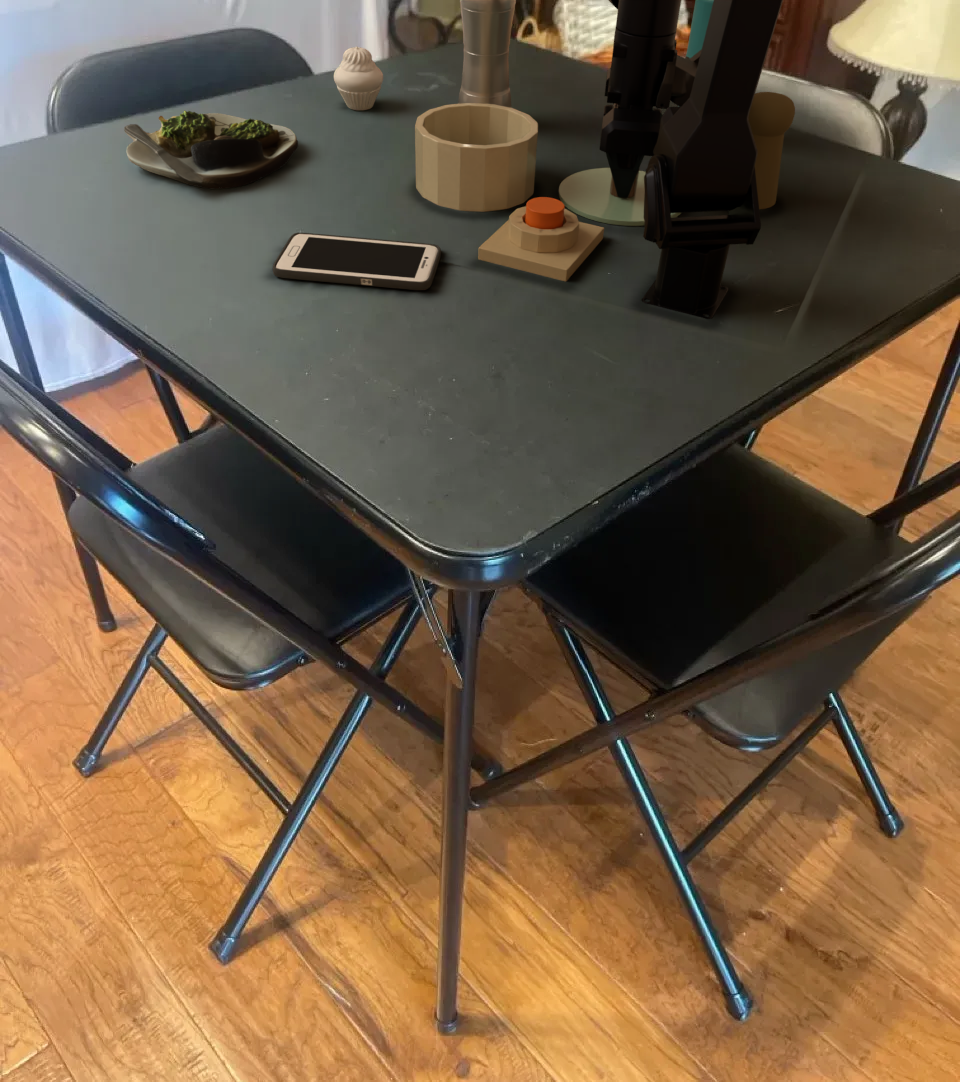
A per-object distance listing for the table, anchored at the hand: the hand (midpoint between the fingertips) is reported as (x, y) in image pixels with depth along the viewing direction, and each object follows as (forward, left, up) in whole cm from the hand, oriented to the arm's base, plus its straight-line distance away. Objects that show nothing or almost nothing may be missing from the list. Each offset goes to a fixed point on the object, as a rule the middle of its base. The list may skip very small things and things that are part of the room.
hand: (622, 191), depth 98 cm
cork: (+7, -12, -2) cm, 14 cm away
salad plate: (-12, +44, -2) cm, 46 cm away
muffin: (+11, +39, -2) cm, 41 cm away
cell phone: (-26, +17, -1) cm, 31 cm away
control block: (-15, +3, -1) cm, 15 cm away
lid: (0, 0, -1) cm, 1 cm away
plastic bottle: (+12, +22, -2) cm, 25 cm away
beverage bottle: (+23, -2, -2) cm, 23 cm away
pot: (-5, +15, -1) cm, 16 cm away
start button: (-15, +3, +2) cm, 15 cm away
